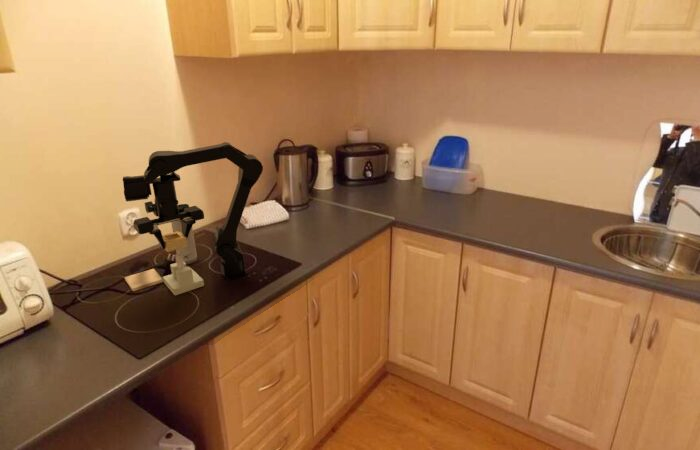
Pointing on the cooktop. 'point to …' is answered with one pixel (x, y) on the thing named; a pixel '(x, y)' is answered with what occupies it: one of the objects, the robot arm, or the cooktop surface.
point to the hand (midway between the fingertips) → (174, 245)
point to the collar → (174, 241)
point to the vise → (182, 277)
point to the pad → (143, 279)
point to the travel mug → (190, 251)
